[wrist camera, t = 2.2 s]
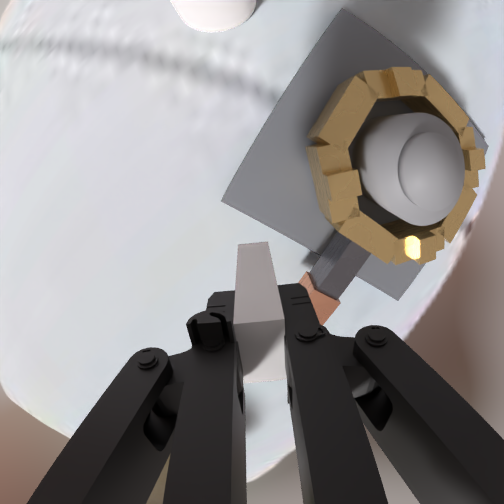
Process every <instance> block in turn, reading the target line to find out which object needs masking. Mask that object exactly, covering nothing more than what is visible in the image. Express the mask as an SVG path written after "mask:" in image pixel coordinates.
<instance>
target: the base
mask: <svg viewBox="0 0 504 504" xmlns="http://www.w3.org/2000/svg"><path fill="white" fill-rule="evenodd" d="M390 67H411V69H412V70H422V73H423V75H427V73H426V72H425V71H424V70H423V69H422V68H421V67H420V66H419V65H418V64H417V63H416V62H415V61H413V60H412V59H411V58H410V57H409V56H408V55H407V54H405V53H404V52H403V51H402V50H401V49H399V48H398V47H397V46H396V45H395V44H393V43H392V42H391V41H389V40H388V39H387V38H386V37H384V36H383V35H382V34H380V33H379V32H378V31H376V30H375V29H373V28H372V27H371V26H369V25H368V24H366V23H365V22H363V21H362V20H360V19H359V18H357V17H356V16H354V15H353V14H351V13H349V12H348V11H346V10H345V9H343V8H342V9H341V10H340V12H339V13H338V14H337V16H336V17H335V18H334V20H333V21H332V22H331V24H330V25H329V27H328V28H327V29H326V31H325V32H324V34H323V35H322V36H321V38H320V39H319V41H318V42H317V44H316V45H315V47H314V48H313V49H312V51H311V52H310V54H309V55H308V57H307V58H306V60H305V61H304V63H303V64H302V66H301V67H300V69H299V70H298V72H297V73H296V75H295V76H294V78H293V80H292V81H291V83H290V84H289V86H288V87H287V89H286V90H285V92H284V94H283V95H282V97H281V98H280V100H279V102H278V103H277V105H276V106H275V108H274V110H273V111H272V113H271V114H270V116H269V118H268V119H267V121H266V123H265V124H264V126H263V128H262V129H261V131H260V133H259V134H258V136H257V138H256V139H255V141H254V143H253V145H252V146H251V148H250V150H249V151H248V153H247V155H246V157H245V158H244V160H243V162H242V164H241V165H240V167H239V169H238V171H237V172H236V174H235V176H234V178H233V180H232V181H231V183H230V185H229V187H228V189H227V190H226V192H225V194H224V196H223V198H222V200H221V202H223V203H225V204H227V205H229V206H231V207H233V208H235V209H237V210H239V211H240V212H242V213H244V214H246V215H248V216H250V217H252V218H254V219H255V220H257V221H259V222H261V223H263V224H265V225H266V226H268V227H270V228H272V229H274V230H276V231H278V232H279V233H281V234H283V235H285V236H287V237H288V238H290V239H292V240H294V241H296V242H297V243H299V244H301V245H303V246H305V247H306V248H308V249H310V250H312V251H314V252H315V253H317V254H319V255H322V254H323V252H324V251H325V249H326V248H327V246H328V245H329V244H330V242H331V241H332V239H333V238H334V236H335V235H336V233H337V232H338V231H337V230H336V229H335V228H334V227H333V226H332V225H331V224H330V223H329V222H328V221H327V220H326V219H325V215H324V214H323V213H322V212H321V211H320V210H319V205H318V201H317V196H316V191H315V187H314V182H313V178H312V174H311V170H310V165H309V161H308V157H307V153H306V149H305V146H309V145H314V144H317V143H315V142H314V141H312V140H310V139H309V138H307V137H306V136H307V135H308V133H309V131H310V130H311V128H312V127H313V125H314V123H315V122H316V120H317V118H318V117H319V115H320V113H321V112H322V110H323V109H324V107H325V105H326V104H327V102H328V101H329V99H330V97H331V96H332V94H333V92H334V91H335V89H336V88H337V86H338V85H339V84H341V83H342V82H344V81H345V80H347V79H349V78H351V77H353V76H354V75H356V74H358V73H360V72H362V71H369V70H386V69H388V68H390ZM467 126H468V127H473V131H474V138H475V145H476V148H482V149H484V156H485V154H486V151H487V149H488V145H487V143H486V142H485V140H484V139H483V138H482V136H481V135H480V133H479V132H478V131H477V129H476V128H475V127H474V125H473V124H472V123H471V122H470V120H469V121H468V123H467ZM348 152H349V156H350V161H351V166H352V168H354V169H358V173H359V179H360V185H361V191H362V195H360V196H357V199H358V205H359V210H360V211H361V212H362V213H364V214H365V215H367V216H368V217H369V218H371V219H372V220H374V221H375V222H376V223H378V224H379V225H381V224H385V223H389V222H392V221H396V220H400V219H403V220H404V221H406V222H408V223H410V224H413V225H418V226H427V225H431V224H434V223H437V222H438V221H440V220H442V219H443V218H444V217H446V216H447V215H448V214H449V213H450V212H451V210H452V209H453V208H454V206H455V205H456V203H457V201H458V199H459V197H460V195H461V192H462V189H463V184H464V178H465V163H464V156H463V152H462V149H461V146H460V143H459V141H458V139H457V137H456V135H455V134H454V132H453V131H452V130H451V128H450V127H449V126H448V125H447V124H446V123H445V122H444V121H442V120H441V119H440V118H438V117H436V116H434V115H431V114H427V113H414V112H413V111H412V110H411V109H410V108H409V107H408V106H407V105H406V104H405V103H403V102H402V101H401V100H393V101H381V102H375V103H374V105H373V107H372V108H371V110H370V112H369V113H368V115H367V117H366V119H365V120H364V122H363V124H362V125H361V127H360V129H359V130H358V132H357V134H356V135H355V137H354V139H353V140H352V142H351V144H350V145H349V147H348ZM424 265H425V263H424V264H421V265H419V264H418V263H417V262H416V261H415V260H414V259H413V260H410V261H407V262H404V263H401V264H398V265H395V264H394V263H393V262H392V261H390V262H389V263H388V264H386V263H385V262H383V261H382V260H380V259H379V258H378V257H376V256H375V255H373V254H372V253H371V255H370V256H369V258H368V259H367V260H366V262H365V263H364V265H363V266H362V267H361V269H360V270H359V272H358V273H357V274H356V276H357V277H359V278H361V279H362V280H364V281H366V282H367V283H369V284H371V285H372V286H374V287H376V288H377V289H379V290H381V291H382V292H384V293H386V294H387V295H389V296H391V297H392V298H394V299H396V300H397V301H398V300H399V299H400V298H401V296H402V295H403V294H404V293H405V291H406V290H407V289H408V287H409V286H410V285H411V283H412V282H413V280H414V279H415V278H416V276H417V275H418V273H419V272H420V271H421V269H422V268H423V266H424Z"/></svg>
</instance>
